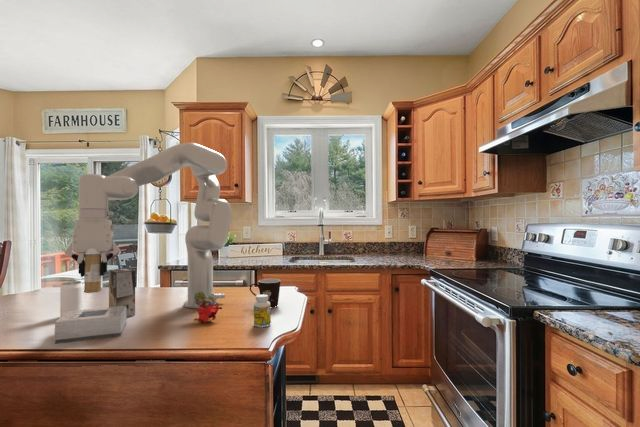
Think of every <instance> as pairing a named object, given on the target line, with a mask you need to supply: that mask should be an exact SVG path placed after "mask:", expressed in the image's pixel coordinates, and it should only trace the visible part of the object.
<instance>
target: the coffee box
mask: <svg viewBox="0 0 640 427" xmlns="http://www.w3.org/2000/svg"><path fill="white" fill-rule="evenodd" d="M119 306H126V318H128V317H133V316H135V315H136V270H134V269H130V268H127V267H126V268H117V269H108V307H119Z"/></svg>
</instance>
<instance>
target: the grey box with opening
mask: <svg viewBox="0 0 640 427" xmlns="http://www.w3.org/2000/svg"><path fill="white" fill-rule="evenodd" d="M126 326H127V317H126V306H119V307H109V306H108V307H100V308H86V309H83V310H74V311H67V312H66V313H65V314H64V315H63V316H61V317H59V318H58V319H56V321H55V322H54V344H64V343H65V344H66V343H72V342H73V343H74V342H83V341H90V340H99V339H107V338H115V337H116V338H117V337H121V336H122V334H123V332H124V330H125V328H126Z"/></svg>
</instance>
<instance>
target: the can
mask: <svg viewBox="0 0 640 427" xmlns="http://www.w3.org/2000/svg"><path fill="white" fill-rule="evenodd" d="M83 285H84V284H82V281H79V280H77V281H76V280H74V281H65V282H62V283H61V286H60V289H59V290H60V293H59V296H60V297H59V298H60V300H59V301H60V304H59V305H60V306H59V310H60V311H59V313H60V314H59V315H60V317H61V316H63V315H64V314H65V313H66V312H67V311H74V310H84V286H83ZM60 317H59V318H60Z"/></svg>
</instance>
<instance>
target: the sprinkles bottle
mask: <svg viewBox="0 0 640 427" xmlns="http://www.w3.org/2000/svg"><path fill="white" fill-rule="evenodd" d="M84 254H85V259H84V260H85V272H84V276H83V278H84V280H83V281H84V284H83V285H84V286H83V293H84V294H93V293H99V292H101V291H102V276H101V275H100V263H101V262H102V257H101V253H99V252H96V249H88V251H87V252H86V253H84Z"/></svg>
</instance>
